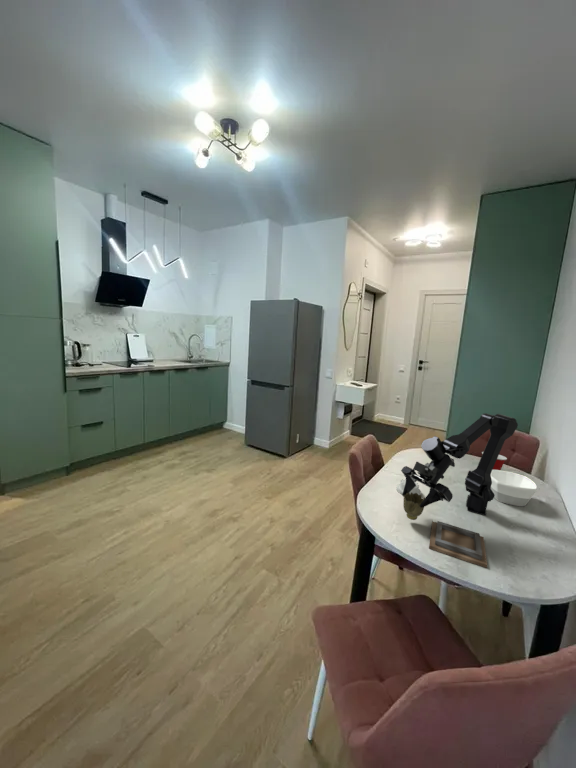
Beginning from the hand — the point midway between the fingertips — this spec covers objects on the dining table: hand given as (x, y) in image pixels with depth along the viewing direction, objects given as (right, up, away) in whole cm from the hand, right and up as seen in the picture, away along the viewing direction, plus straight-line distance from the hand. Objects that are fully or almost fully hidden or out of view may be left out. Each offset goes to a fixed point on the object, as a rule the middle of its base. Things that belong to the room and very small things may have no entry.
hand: (411, 501), depth 118 cm
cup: (+1, -7, +2) cm, 7 cm away
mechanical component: (+8, -5, +26) cm, 28 cm away
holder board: (+12, -11, -8) cm, 18 cm away
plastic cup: (+57, -5, +50) cm, 76 cm away
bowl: (+52, -9, +28) cm, 60 cm away
